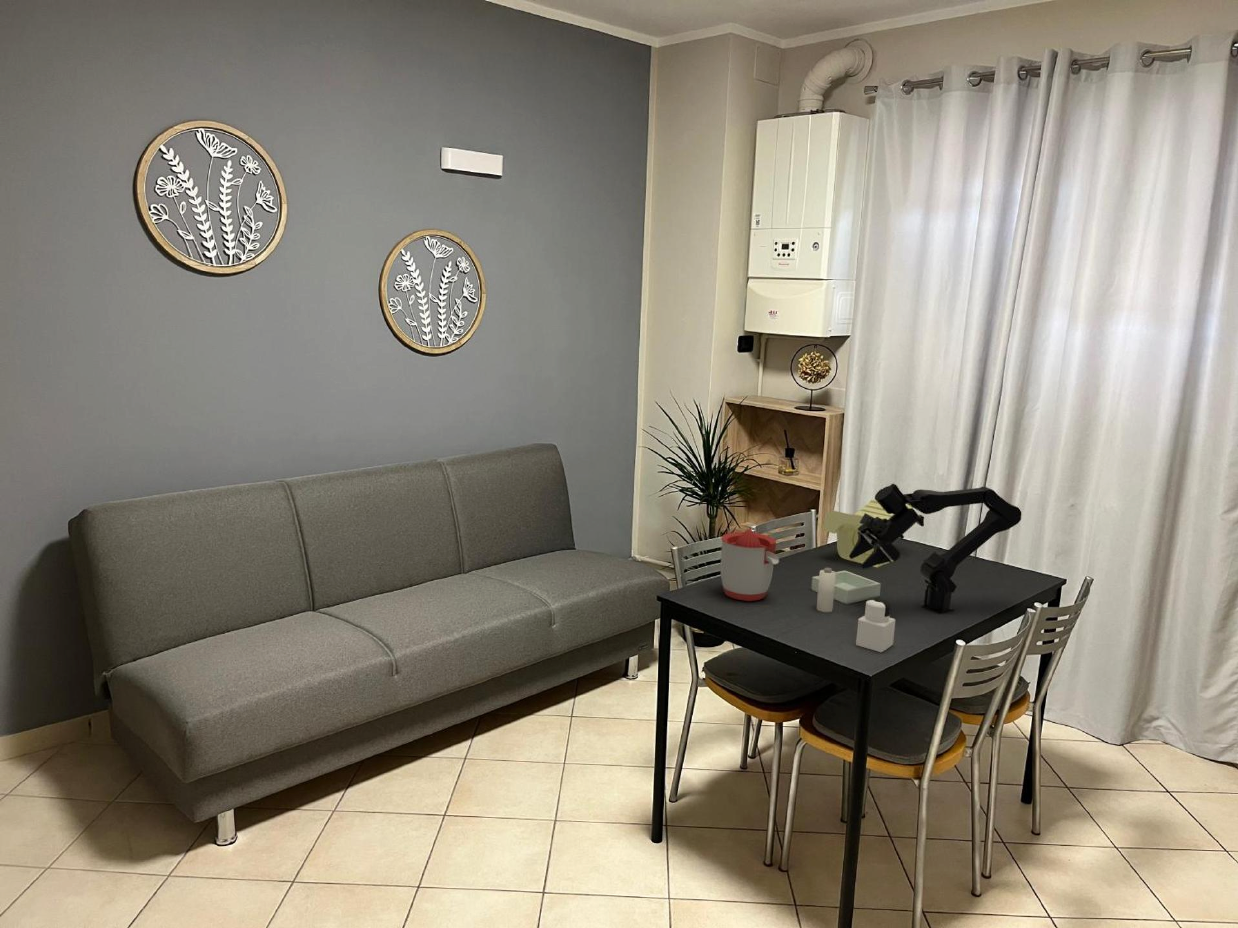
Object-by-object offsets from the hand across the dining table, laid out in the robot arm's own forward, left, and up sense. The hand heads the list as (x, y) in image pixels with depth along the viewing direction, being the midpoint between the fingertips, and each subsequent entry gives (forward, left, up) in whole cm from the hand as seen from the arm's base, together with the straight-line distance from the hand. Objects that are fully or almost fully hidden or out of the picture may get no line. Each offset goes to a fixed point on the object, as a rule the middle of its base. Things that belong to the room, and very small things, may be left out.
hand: (855, 562), depth 260 cm
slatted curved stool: (+33, -43, -14) cm, 55 cm away
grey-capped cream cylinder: (+3, +7, -14) cm, 16 cm away
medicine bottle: (-22, +15, -14) cm, 30 cm away
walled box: (+10, -9, -14) cm, 19 cm away
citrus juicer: (+22, +19, -14) cm, 33 cm away
